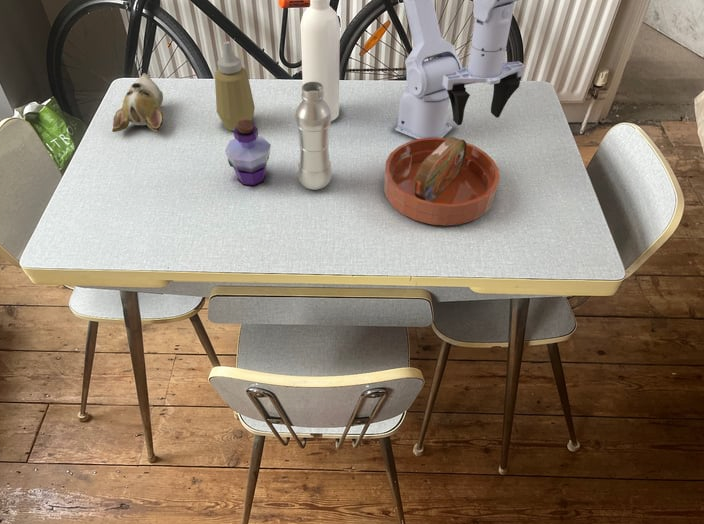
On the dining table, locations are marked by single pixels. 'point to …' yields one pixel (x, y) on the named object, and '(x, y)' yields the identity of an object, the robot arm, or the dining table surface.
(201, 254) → the dining table surface
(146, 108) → the ceramic sculpture
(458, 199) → the bowl
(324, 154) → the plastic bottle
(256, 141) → the potion bottle
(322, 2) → the bottle
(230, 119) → the squeeze bottle
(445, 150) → the tin
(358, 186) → the dining table surface
